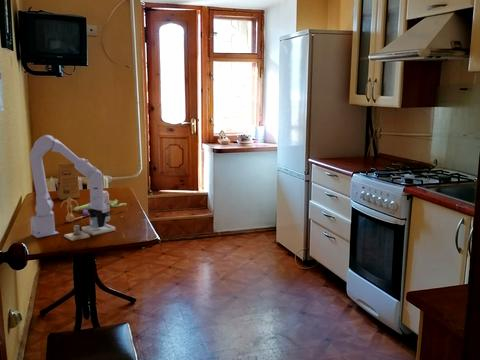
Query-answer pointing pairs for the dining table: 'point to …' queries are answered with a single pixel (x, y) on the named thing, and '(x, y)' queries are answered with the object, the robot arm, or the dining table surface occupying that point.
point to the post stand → (77, 234)
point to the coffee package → (67, 181)
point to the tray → (98, 229)
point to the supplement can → (106, 202)
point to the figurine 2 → (85, 208)
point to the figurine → (69, 216)
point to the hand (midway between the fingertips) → (98, 225)
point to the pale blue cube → (95, 223)
